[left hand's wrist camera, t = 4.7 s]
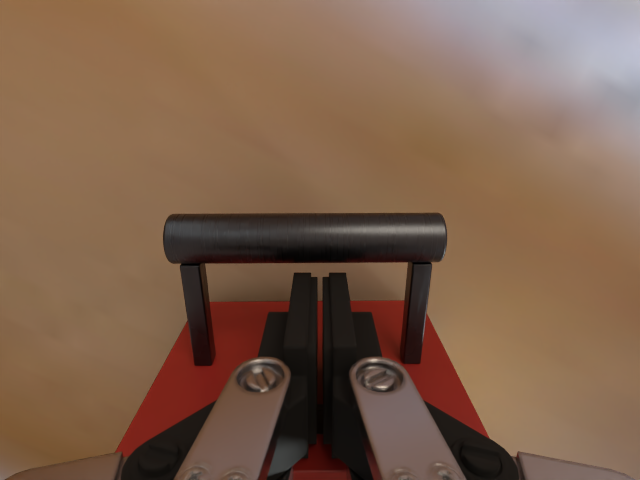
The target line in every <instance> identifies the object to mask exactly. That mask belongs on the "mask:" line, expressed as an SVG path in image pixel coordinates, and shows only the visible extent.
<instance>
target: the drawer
mask: <svg viewBox="0 0 640 480" xmlns="http://www.w3.org/2000/svg"><path fill="white" fill-rule="evenodd" d="M163 245H164V251H165V255H166V257H167V259H168V261H169V262H171V263H173V264H181V265H180V271H181V278H182V284H183V291H184V298H185V305H186V311H187V318H188V321H187V323H186V324H185V326H184V328H183V330H182V332H181V333H180V335H179V337H178V339H177V341H176V343H175V344H174V346H173V348H172V350H171V352H170V353H169V355H168V357H167V359H166V361H165V363H164V364H163V366H162V368H161V370H160V372H159V373H158V375H157V377H156V379H155V381H154V383H153V384H152V386H151V388H150V390H149V392H148V393H147V395H146V397H145V399H144V401H143V403H142V404H141V406H140V408H139V410H138V412H137V413H136V415H135V417H134V419H133V421H132V423H131V424H130V426H129V428H128V430H127V432H126V434H125V435H124V437H123V439H122V441H121V443H120V444H119V446H118V448H117V450H116V452H122V453H123V457H127V456H130V455H131V454H132V452H133V451H134V450H135V449H136V448H138V447H139V446H140V445H142V444H143V443H144V442H146V441H147V440H149V439H151V438H153V437H154V436H156V435H158V434H159V433H161V432H163V431H164V430H166V429H168V428H170V427H171V426H173V425H175V424H176V423H178V422H180V421H181V420H183V419H185V418H187V417H188V416H190V415H192V414H193V413H195V412H197V411H198V410H200V409H202V408H204V407H205V406H207V405H209V404H210V403H212V402H214V401H215V400H217V399H218V397H219V396H220V394H221V392H222V390H223V388H224V386H225V385H226V383H227V381H228V379H229V377H230V375H231V374H232V372H233V371H234V369H235V368H236V367H237V366H238V365H240V364H241V363H242V362H244V361H247V360H249V359H251V358H256V357H258V353H259V348H260V344H261V340H262V336H263V332H264V328H265V324H266V320H267V315H268V312H288V311H289V304H290V301H273V302H210V301H209V293H208V285H207V276H206V268H205V263H368V262H408V269H407V279H406V290H405V301H350V304H351V311H352V312H372V315H373V320H374V324H375V328H376V332H377V336H378V340H379V344H380V348H381V353H382V357H384V358H389V359H391V360H393V361H396V362H398V363H399V364H400V365H402V366H403V367H404V368H405V369H406V371H407V372H408V374H409V375H410V377H411V379H412V381H413V383H414V385H415V386H416V388H417V390H418V392H419V394H420V396H421V397H422V399H423V400H425V401H426V402H428V403H430V404H431V405H433V406H435V407H436V408H438V409H440V410H442V411H443V412H445V413H447V414H448V415H450V416H452V417H453V418H455V419H457V420H459V421H460V422H462V423H464V424H465V425H467V426H469V427H470V428H472V429H474V430H476V431H477V432H479V433H481V434H482V435H484V436H486V437H487V438H489V436H488V434H487V432H486V430H485V428H484V426H483V424H482V422H481V420H480V418H479V416H478V414H477V412H476V410H475V408H474V406H473V405H472V403H471V401H470V399H469V397H468V395H467V393H466V391H465V389H464V387H463V385H462V383H461V381H460V379H459V377H458V375H457V373H456V371H455V369H454V367H453V365H452V363H451V361H450V359H449V357H448V355H447V353H446V351H445V349H444V347H443V345H442V343H441V341H440V339H439V337H438V335H437V333H436V331H435V329H434V327H433V325H432V323H431V321H430V319H429V317H428V315H427V304H428V296H429V287H430V279H431V270H432V264H431V262H440V261H441V260H442V259H443V257H444V255H445V251H446V246H447V229H446V224H445V220H444V218H443V216H442V215H441V214H439V213H286V214H172V215H170V216H169V217H168V218H167V220H166V222H165V226H164V232H163ZM317 334H318V359H317V444H309V452H308V458H301V459H300V460H299V461H298V462H296V463H295V464H294V477H293V480H347V477H346V464H345V463H344V462H342V461H341V460H340V459H339V458H332V452H331V444H323V359H322V334H323V301H317ZM489 439H490V438H489ZM116 452H115V453H116Z"/></svg>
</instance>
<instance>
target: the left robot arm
mask: <svg viewBox="0 0 640 480" xmlns="http://www.w3.org/2000/svg"><path fill="white" fill-rule="evenodd" d="M317 359H318V334H317V277H311V273H294V277H293V284H292V291H291V297H290V304H289V311H288V312H268V315H267V320H266V324H265V328H264V332H263V336H262V340H261V344H260V348H259V353H258V357H256V358H251V359H249V360H247V361H244V362H242V363H241V364H240V365H238V366H237V367H236V368H235V369H234V371H233V372H232V374H231V375H230V377H229V379H228V381H227V383H226V385H225V386H224V388H223V390H222V392H221V394H220V396H219V397H218V399H217V400H215V401H214V402H212V403H210V404H209V405H207V406H205V407H204V408H202V409H200V410H198V411H197V412H195V413H193V414H192V415H190V416H188V417H187V418H185V419H183V420H181V421H180V422H178V423H176V424H175V425H173V426H171V427H170V428H168V429H166V430H164V431H163V432H161V433H159V434H158V435H156V436H154V437H153V438H151V439H149V440H147V441H146V442H144V443H143V444H142V445H140V446H139V447H138V448H136V449H135V450H134V451H133V452H132V454H131V455H130V456H127V457H123V453H122V452H116V453H111V454H106V455H101V456H95V457H90V458H85V459H80V460H75V461H69V462H64V463H59V464H54V465H48V466H43V467H38V468H33V469H28V470H25V471H22V472H19V473H16V474H14V475H12V476H10V477H9V478H7V479H5V480H293V477H294V464H295V463H296V462H298V461H299V460H300V459H301V458H308V452H309V444H317ZM322 359H323V444H331V452H332V458H339V459H340V460H341V461H342V462H344V463H345V464H346V477H347V480H635V479H633V478H631V477H630V476H628V475H626V474H624V473H621V472H618V471H615V470H612V469H607V468H602V467H597V466H592V465H586V464H581V463H576V462H571V461H565V460H560V459H555V458H550V457H545V456H539V455H534V454H529V453H524V452H518V453H517V457H513V456H510V455H509V454H508V452H507V451H506V450H505V449H504V448H502V447H501V446H500V445H498V444H497V443H496V442H494V441H493V440H491V439H489V438H487V437H486V436H484V435H482V434H481V433H479V432H477V431H476V430H474V429H472V428H470V427H469V426H467V425H465V424H464V423H462V422H460V421H459V420H457V419H455V418H453V417H452V416H450V415H448V414H447V413H445V412H443V411H442V410H440V409H438V408H436V407H435V406H433V405H431V404H430V403H428V402H426V401H425V400H423V399H422V397H421V396H420V394H419V392H418V390H417V388H416V386H415V385H414V383H413V381H412V379H411V377H410V375H409V374H408V372H407V371H406V369H405V368H404V367H403V366H402V365H400V364H399V363H398V362H396V361H393V360H391V359H389V358H384V357H382V353H381V348H380V344H379V340H378V336H377V332H376V328H375V324H374V320H373V315H372V312H352V311H351V304H350V297H349V291H348V284H347V277H346V273H329V277H323V334H322Z"/></svg>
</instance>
